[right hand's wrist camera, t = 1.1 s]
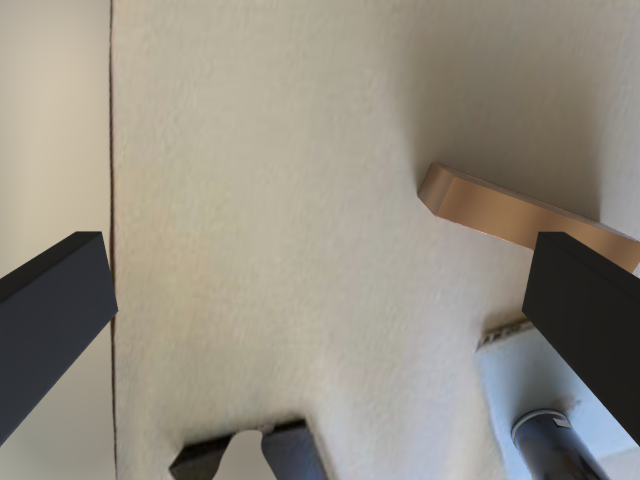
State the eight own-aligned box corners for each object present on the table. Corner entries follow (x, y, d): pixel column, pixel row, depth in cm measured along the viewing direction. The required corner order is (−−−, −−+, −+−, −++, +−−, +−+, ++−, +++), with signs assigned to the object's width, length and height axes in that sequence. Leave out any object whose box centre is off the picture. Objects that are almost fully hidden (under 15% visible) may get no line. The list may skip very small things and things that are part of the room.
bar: (416, 196, 53) (434, 216, 45) (432, 161, 51) (454, 175, 43) (581, 254, 56) (625, 282, 48) (600, 222, 54) (650, 246, 46)
